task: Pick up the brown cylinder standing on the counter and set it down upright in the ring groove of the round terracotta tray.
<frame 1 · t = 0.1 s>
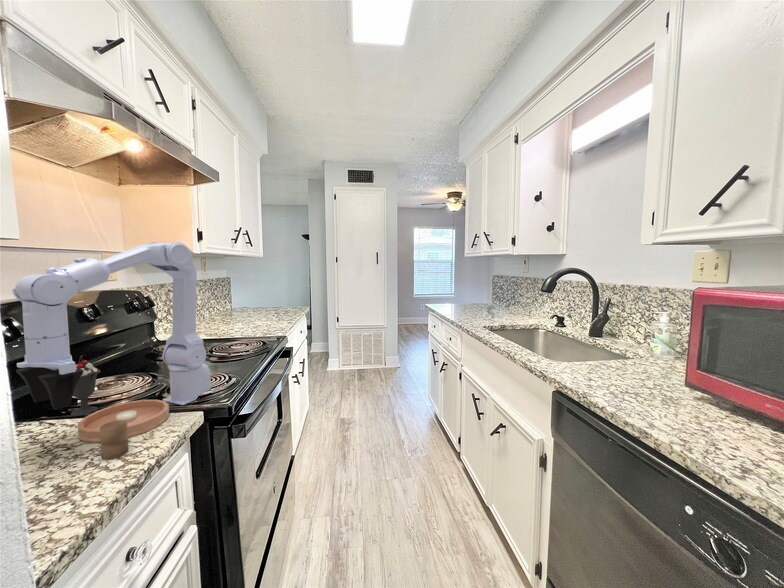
hand: (52, 404, 61), 10 cm above the counter, tool pointing down, fingers open, 7 cm apart
brown cylinder: (115, 453, 61), on the counter
groove tray: (126, 424, 73), on the counter
sundae: (84, 412, 79), on the counter
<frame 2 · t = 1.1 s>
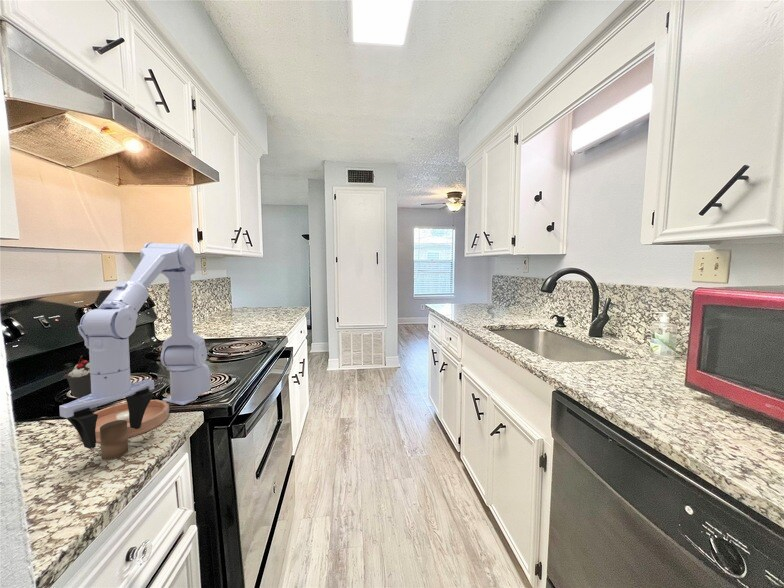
hand: (114, 436, 61), 4 cm above the counter, tool pointing down, fingers open, 7 cm apart
nothing on the counter moved.
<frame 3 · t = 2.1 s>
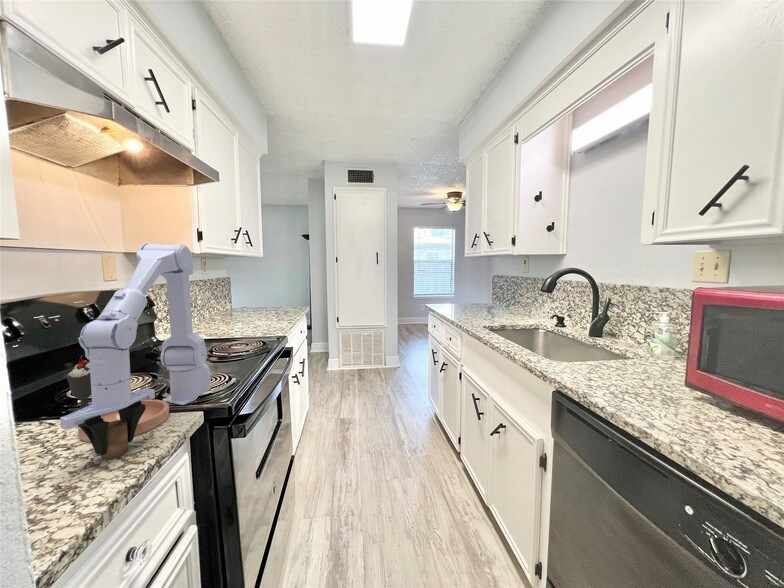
hand: (114, 446, 61), 1 cm above the counter, tool pointing down, fingers closed on brown cylinder, 4 cm apart
brown cylinder: (115, 453, 61), on the counter, touching gripper
everything else where it was.
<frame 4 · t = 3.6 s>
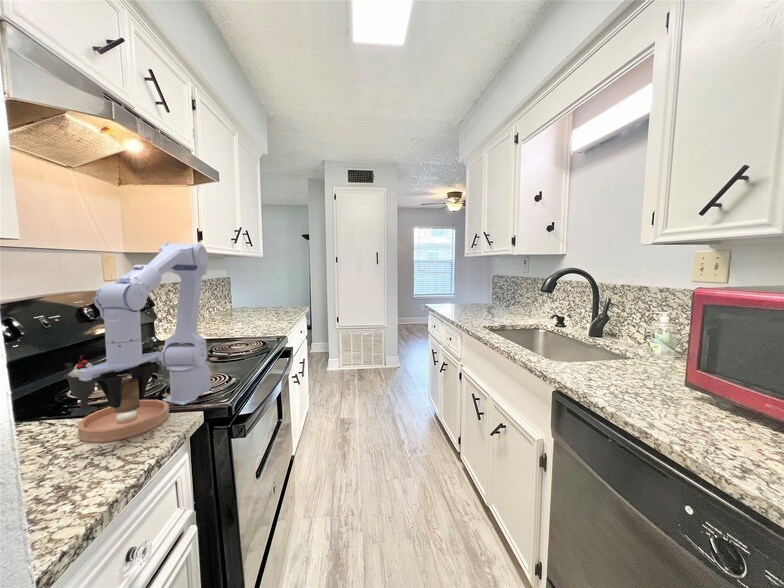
hand: (127, 402, 66), 8 cm above the counter, tool pointing down, fingers closed on brown cylinder, 4 cm apart
brown cylinder: (127, 408, 66), point 7 cm above the counter, touching gripper
everything else where it was.
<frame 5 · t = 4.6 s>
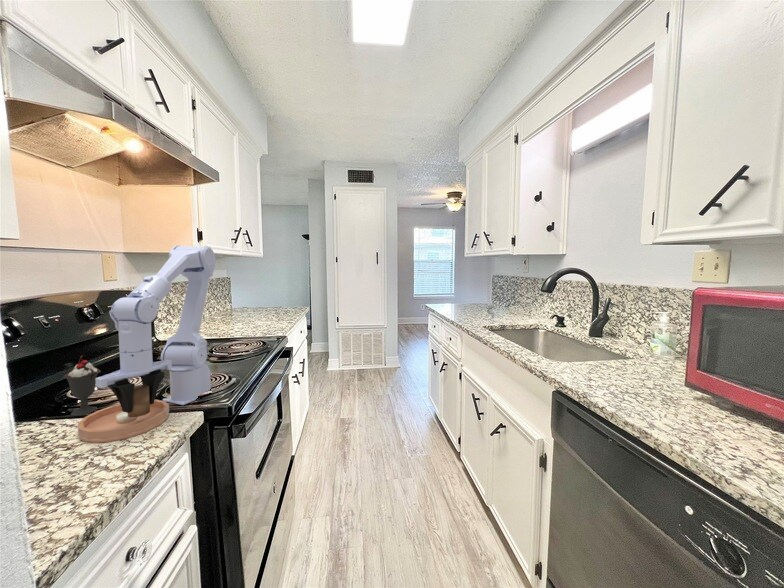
hand: (138, 407, 71), 5 cm above the counter, tool pointing down, fingers closed on brown cylinder, 4 cm apart
brown cylinder: (139, 413, 71), point 3 cm above the counter, touching gripper
everything else where it was.
when the fingers open (3 cm above the counter, at t = 5.3 s): brown cylinder stays where it is, resting on groove tray.
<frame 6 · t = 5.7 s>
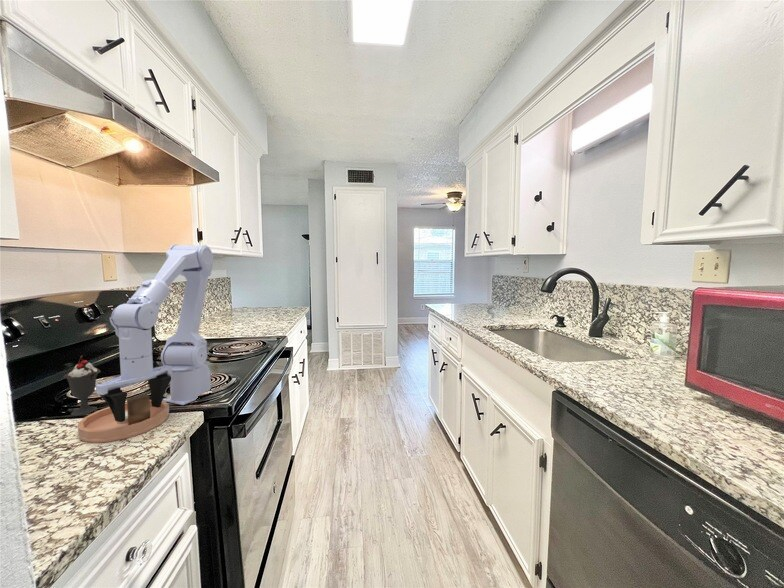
hand: (139, 413, 71), 3 cm above the counter, tool pointing down, fingers open, 7 cm apart
brown cylinder: (139, 423, 71), point 1 cm above the counter, touching groove tray
everything else where it was.
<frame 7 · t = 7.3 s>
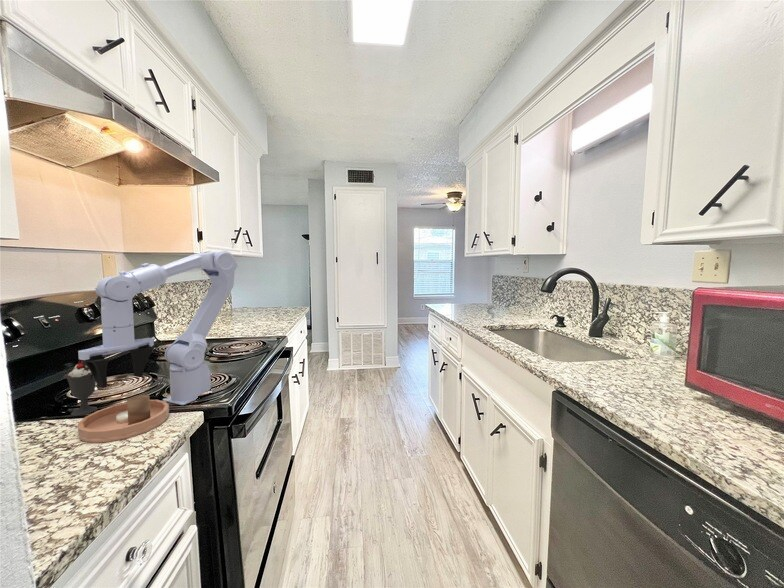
hand: (121, 381, 75), 9 cm above the counter, tool pointing down, fingers open, 7 cm apart
nothing on the counter moved.
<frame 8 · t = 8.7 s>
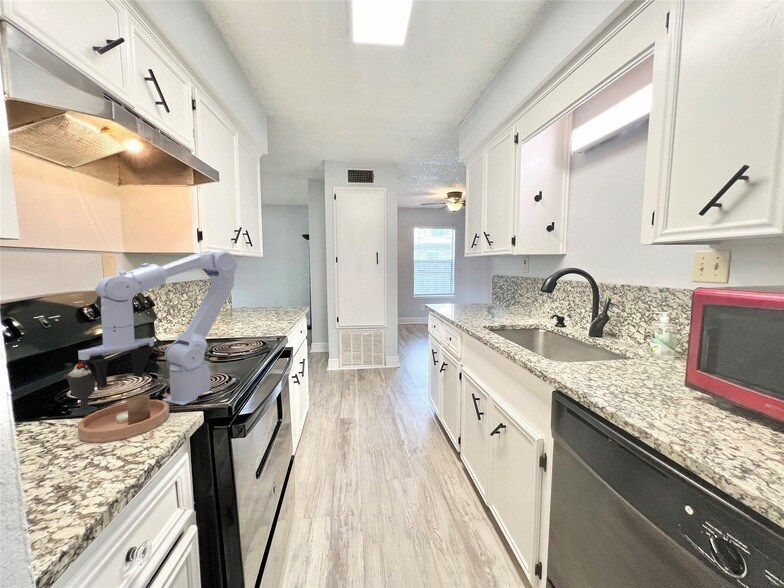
hand: (121, 381, 75), 9 cm above the counter, tool pointing down, fingers open, 7 cm apart
nothing on the counter moved.
at the end: brown cylinder 0.0 cm from the target spot on the groove tray, point 1.0 cm above the groove tray's base; brown cylinder tilted 0°; the gripper is holding nothing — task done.
